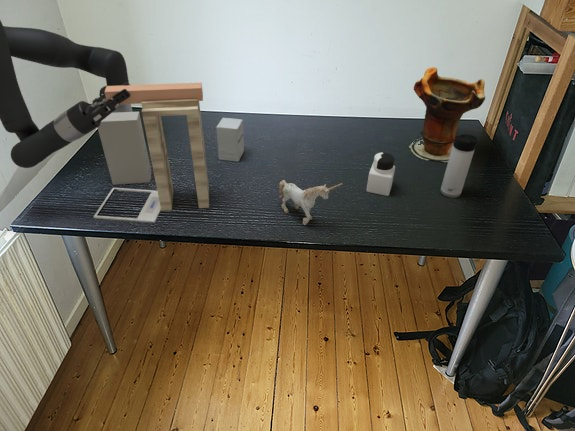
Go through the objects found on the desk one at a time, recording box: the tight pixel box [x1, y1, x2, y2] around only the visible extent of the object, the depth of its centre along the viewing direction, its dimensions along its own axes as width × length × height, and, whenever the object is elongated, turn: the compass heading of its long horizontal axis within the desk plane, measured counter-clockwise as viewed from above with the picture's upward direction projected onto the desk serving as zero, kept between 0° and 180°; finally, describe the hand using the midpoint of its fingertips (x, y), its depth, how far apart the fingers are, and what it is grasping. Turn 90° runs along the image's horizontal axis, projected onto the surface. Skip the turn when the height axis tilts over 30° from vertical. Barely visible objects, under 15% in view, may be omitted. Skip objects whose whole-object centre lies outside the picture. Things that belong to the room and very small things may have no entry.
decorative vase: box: [408, 67, 486, 163], centre depth 158 cm, size 21×23×28 cm
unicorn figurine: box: [278, 179, 343, 226], centre depth 131 cm, size 7×20×13 cm, turn 62°
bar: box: [105, 82, 204, 105], centre depth 119 cm, size 4×24×4 cm, turn 98°
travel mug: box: [440, 133, 478, 199], centre depth 140 cm, size 6×7×20 cm
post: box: [96, 111, 152, 185], centre depth 142 cm, size 6×12×22 cm, turn 98°
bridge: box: [140, 99, 210, 212], centre depth 130 cm, size 10×14×34 cm
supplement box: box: [215, 117, 245, 163], centre depth 157 cm, size 7×7×13 cm
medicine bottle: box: [365, 151, 396, 197], centre depth 143 cm, size 7×7×12 cm
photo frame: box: [93, 187, 161, 224], centre depth 138 cm, size 15×1×18 cm
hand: (128, 88), depth 117 cm, fingers closed on bar, 3 cm apart
